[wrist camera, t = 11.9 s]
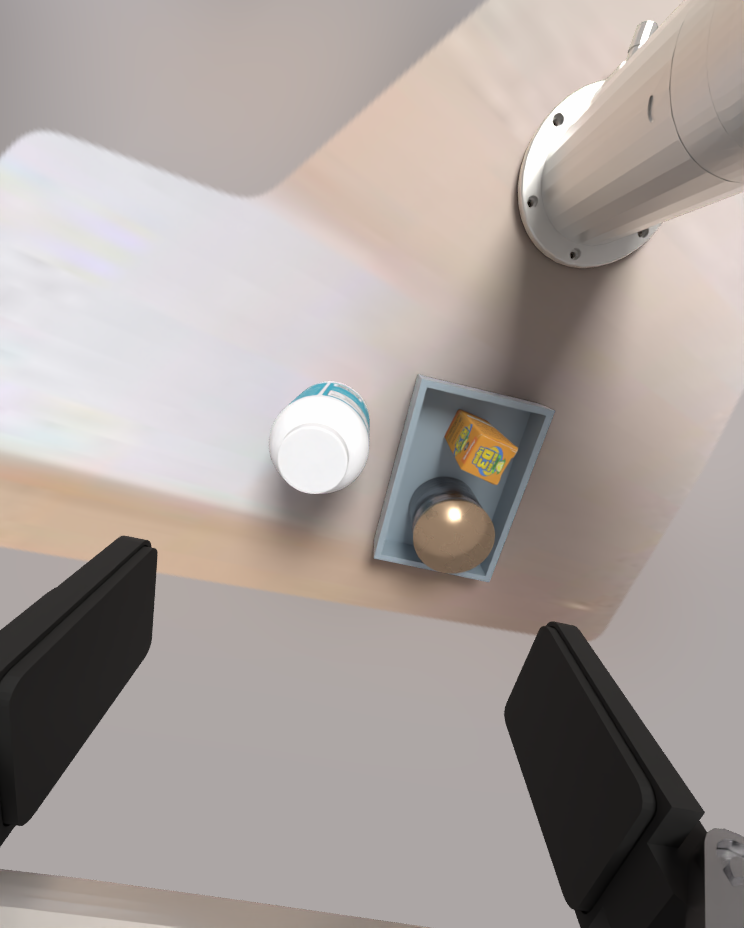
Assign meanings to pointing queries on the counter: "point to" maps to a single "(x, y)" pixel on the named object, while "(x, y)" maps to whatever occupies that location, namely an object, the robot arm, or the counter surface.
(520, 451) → the tote
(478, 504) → the tin
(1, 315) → the counter surface
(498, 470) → the supplement box
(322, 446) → the pill bottle
